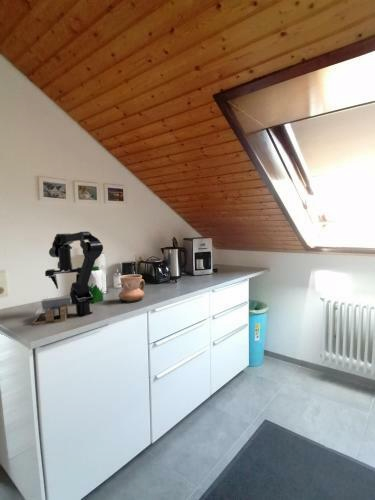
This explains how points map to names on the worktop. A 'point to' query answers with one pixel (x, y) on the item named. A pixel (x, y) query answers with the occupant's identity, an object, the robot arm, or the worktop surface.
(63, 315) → the frame
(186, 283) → the worktop surface
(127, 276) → the ceramic jug
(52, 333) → the worktop surface
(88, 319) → the worktop surface
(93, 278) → the milk carton
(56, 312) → the trapdoor
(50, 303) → the basalt block
